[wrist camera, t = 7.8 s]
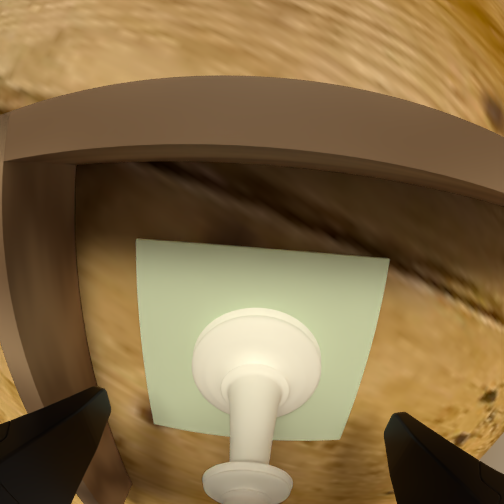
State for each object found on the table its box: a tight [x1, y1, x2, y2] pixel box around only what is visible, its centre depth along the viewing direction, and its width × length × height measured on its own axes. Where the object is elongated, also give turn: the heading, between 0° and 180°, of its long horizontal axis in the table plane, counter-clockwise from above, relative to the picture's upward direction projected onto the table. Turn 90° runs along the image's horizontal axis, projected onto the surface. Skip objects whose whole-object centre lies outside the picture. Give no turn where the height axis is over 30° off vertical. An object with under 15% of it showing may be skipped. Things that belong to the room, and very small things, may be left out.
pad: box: [136, 238, 390, 441], centre depth 11 cm, size 9×9×1 cm
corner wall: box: [0, 76, 504, 504], centre depth 9 cm, size 22×22×4 cm
